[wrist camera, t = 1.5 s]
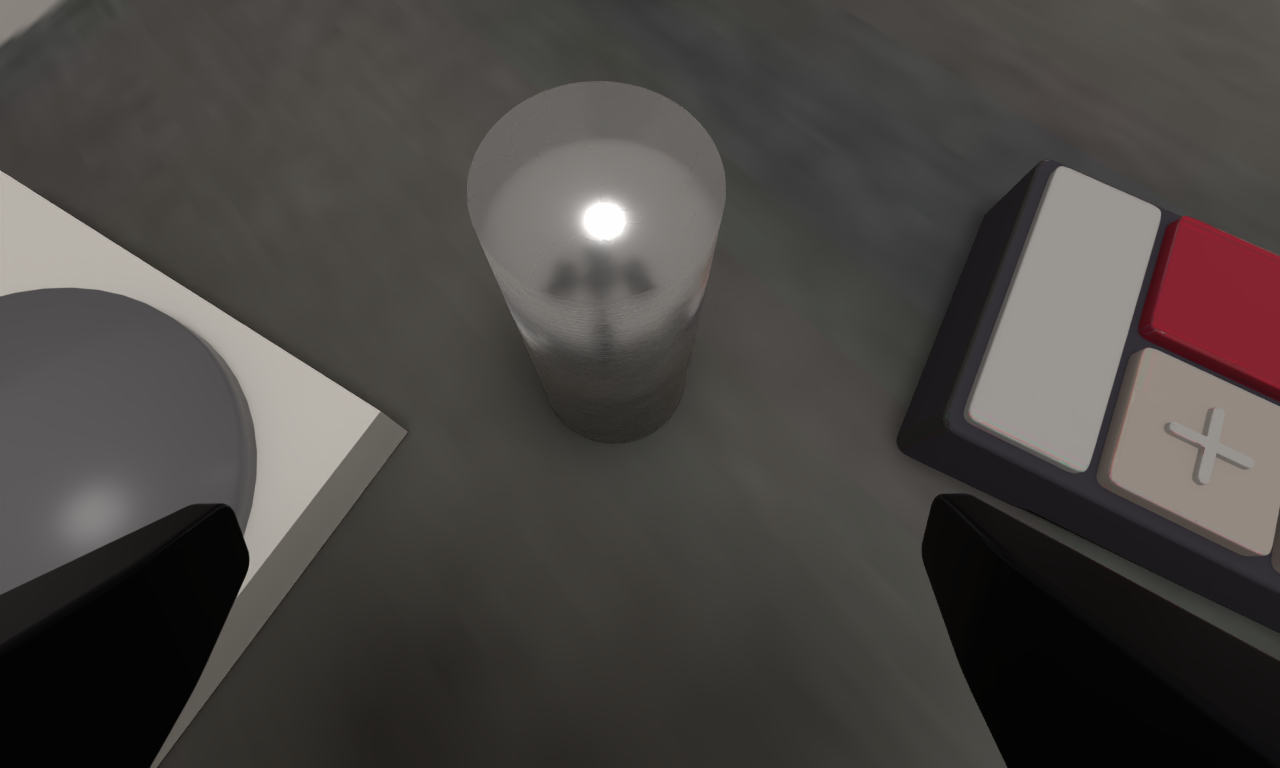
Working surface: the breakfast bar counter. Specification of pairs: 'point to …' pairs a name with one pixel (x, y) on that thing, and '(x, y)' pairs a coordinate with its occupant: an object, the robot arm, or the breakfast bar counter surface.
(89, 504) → the kitchen scale
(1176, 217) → the calculator
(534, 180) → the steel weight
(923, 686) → the breakfast bar counter surface
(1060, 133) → the breakfast bar counter surface
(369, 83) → the breakfast bar counter surface
